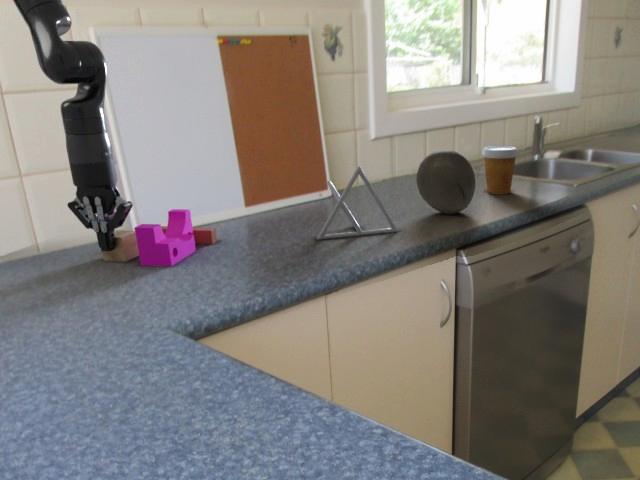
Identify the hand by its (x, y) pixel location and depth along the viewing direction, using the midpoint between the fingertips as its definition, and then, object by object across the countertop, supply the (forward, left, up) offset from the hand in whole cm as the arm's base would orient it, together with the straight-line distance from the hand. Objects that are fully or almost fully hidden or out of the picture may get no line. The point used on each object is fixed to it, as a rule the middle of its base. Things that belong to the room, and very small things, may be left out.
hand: (108, 250), depth 126 cm
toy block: (+9, +7, -3) cm, 12 cm away
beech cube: (0, +4, -3) cm, 4 cm away
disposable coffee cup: (+66, +78, -3) cm, 102 cm away
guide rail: (+5, +17, -3) cm, 17 cm away
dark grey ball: (+56, +51, -3) cm, 76 cm away
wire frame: (+39, +31, -3) cm, 50 cm away
